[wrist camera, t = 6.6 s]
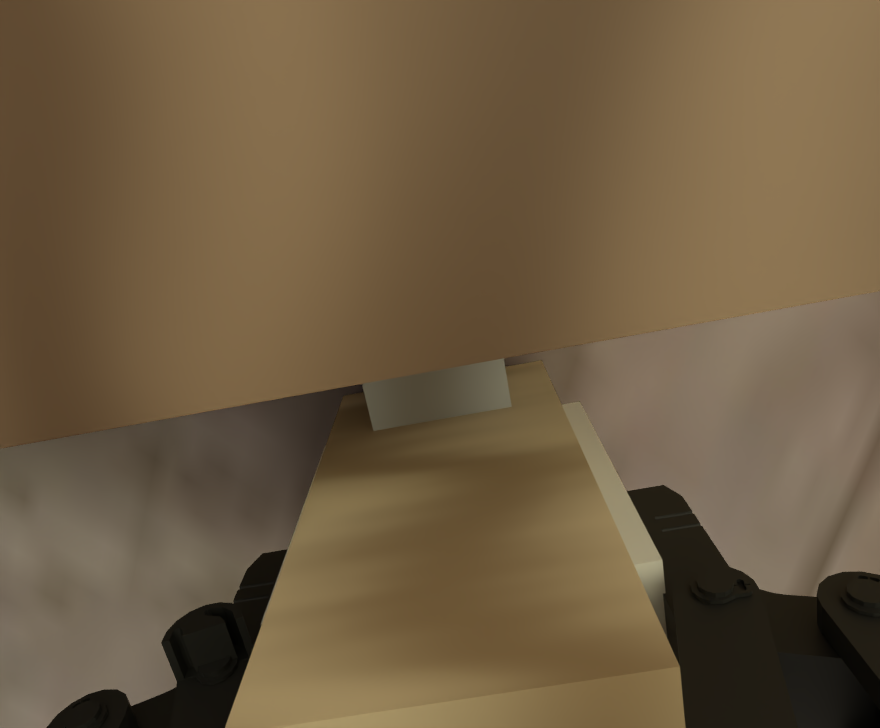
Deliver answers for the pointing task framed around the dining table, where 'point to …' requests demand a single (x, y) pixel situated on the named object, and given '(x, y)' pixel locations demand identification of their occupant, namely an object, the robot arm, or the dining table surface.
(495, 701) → the tool
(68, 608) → the dining table surface
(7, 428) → the shelf
